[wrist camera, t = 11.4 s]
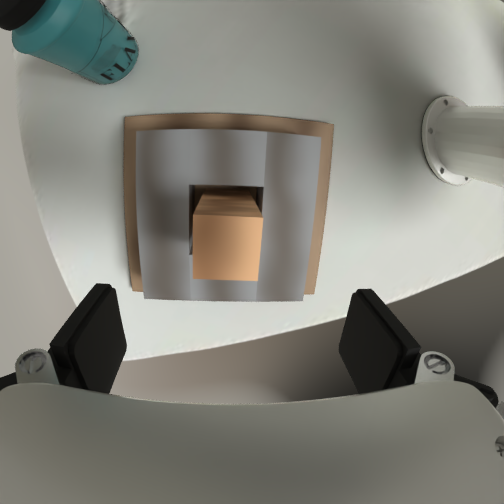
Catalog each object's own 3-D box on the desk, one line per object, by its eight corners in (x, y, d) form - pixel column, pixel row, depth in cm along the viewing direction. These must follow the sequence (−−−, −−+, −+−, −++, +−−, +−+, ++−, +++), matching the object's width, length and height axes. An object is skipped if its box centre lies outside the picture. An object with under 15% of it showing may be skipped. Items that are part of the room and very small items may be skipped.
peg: (248, 190, 29) (263, 217, 18) (245, 230, 31) (257, 281, 19) (205, 188, 29) (192, 214, 17) (204, 229, 30) (192, 278, 19)
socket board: (330, 124, 28) (353, 121, 23) (311, 290, 35) (326, 316, 30) (127, 117, 26) (106, 112, 20) (134, 287, 33) (120, 313, 27)
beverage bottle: (120, 97, 25) (-3, 55, 6) (81, 74, 23) (-40, 32, 4) (156, 50, 23) (78, -48, 5) (115, 29, 22) (24, -52, 3)
